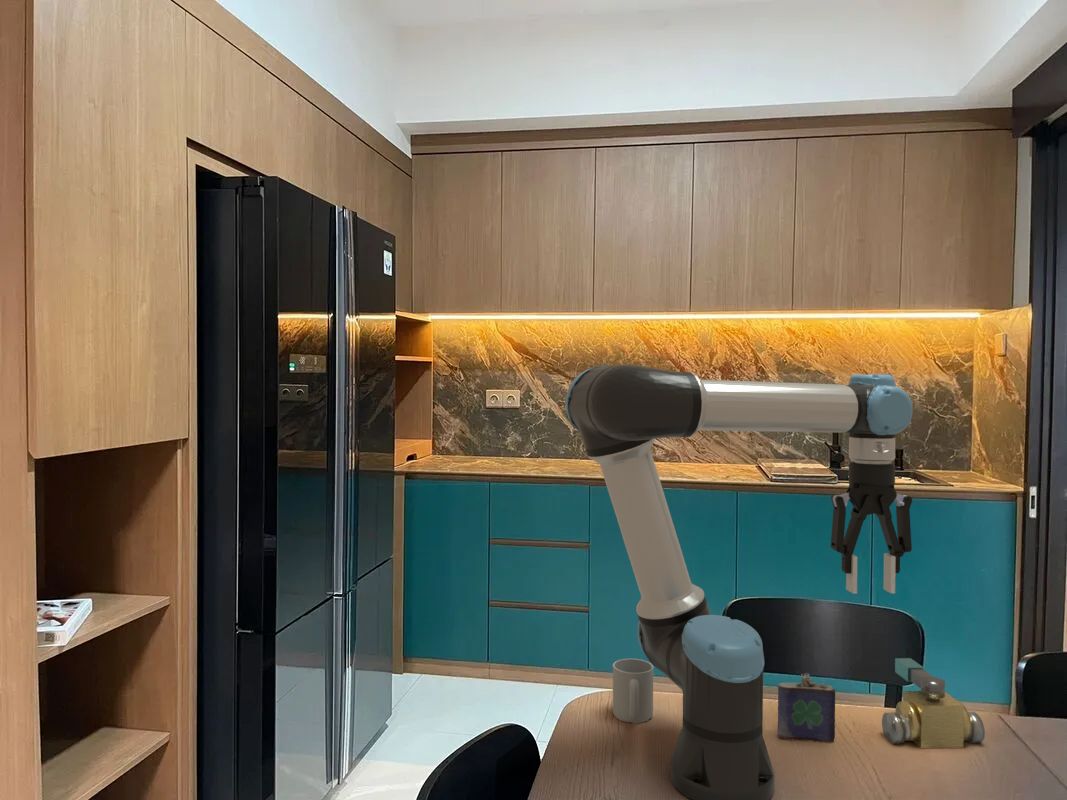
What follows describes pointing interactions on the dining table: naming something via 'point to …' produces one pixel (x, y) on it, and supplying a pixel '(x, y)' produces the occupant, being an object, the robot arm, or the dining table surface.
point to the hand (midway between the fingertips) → (870, 591)
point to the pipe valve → (932, 722)
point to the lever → (920, 677)
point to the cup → (633, 690)
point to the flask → (806, 711)
